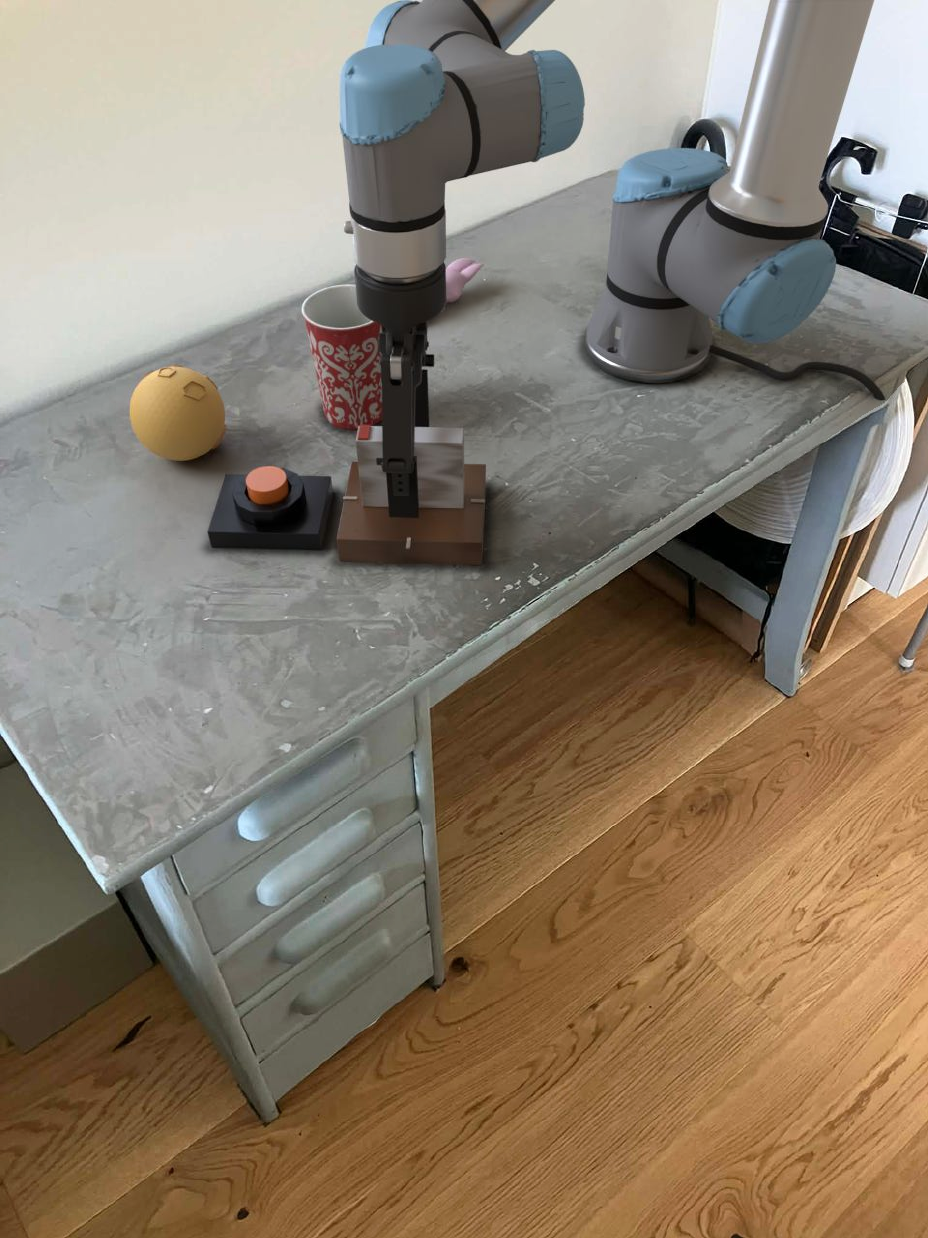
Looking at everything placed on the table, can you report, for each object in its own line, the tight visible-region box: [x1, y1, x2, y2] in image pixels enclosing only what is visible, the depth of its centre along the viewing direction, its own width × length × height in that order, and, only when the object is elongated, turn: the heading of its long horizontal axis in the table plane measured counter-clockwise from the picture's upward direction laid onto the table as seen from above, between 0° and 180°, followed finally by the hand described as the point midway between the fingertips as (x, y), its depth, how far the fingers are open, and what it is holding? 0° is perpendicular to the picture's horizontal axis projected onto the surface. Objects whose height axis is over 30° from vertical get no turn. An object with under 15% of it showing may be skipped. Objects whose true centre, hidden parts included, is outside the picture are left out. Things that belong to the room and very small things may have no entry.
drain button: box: [246, 465, 289, 504], centre depth 101 cm, size 4×4×2 cm
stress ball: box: [129, 365, 227, 462], centre depth 109 cm, size 10×10×10 cm
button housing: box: [207, 467, 334, 551], centre depth 103 cm, size 11×9×4 cm
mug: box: [300, 284, 382, 431], centre depth 113 cm, size 13×9×14 cm
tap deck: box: [336, 461, 487, 566], centre depth 103 cm, size 14×14×3 cm
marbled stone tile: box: [355, 425, 465, 509], centre depth 99 cm, size 10×2×8 cm, turn 87°
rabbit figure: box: [442, 257, 485, 311], centre depth 131 cm, size 6×6×15 cm
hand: (410, 469), depth 99 cm, fingers open, 13 cm apart
